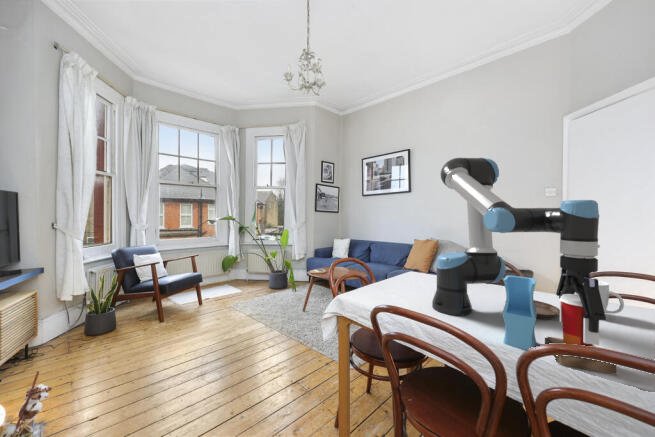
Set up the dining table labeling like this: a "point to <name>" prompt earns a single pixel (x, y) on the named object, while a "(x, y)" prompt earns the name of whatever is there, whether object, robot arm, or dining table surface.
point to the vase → (519, 312)
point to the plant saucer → (545, 310)
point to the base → (581, 360)
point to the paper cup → (572, 319)
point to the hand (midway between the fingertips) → (577, 332)
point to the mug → (605, 297)
